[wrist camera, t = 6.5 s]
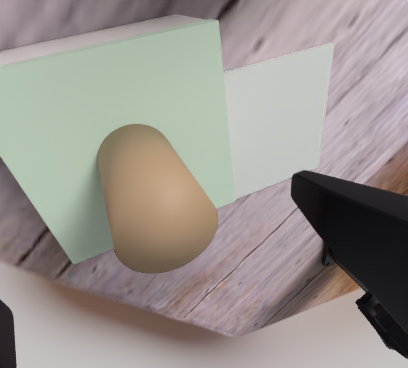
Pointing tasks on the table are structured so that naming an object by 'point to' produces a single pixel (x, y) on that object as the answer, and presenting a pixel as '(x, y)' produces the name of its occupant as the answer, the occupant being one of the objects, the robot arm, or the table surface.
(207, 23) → the lid
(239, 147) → the mat
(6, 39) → the table surface
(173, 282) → the table surface
